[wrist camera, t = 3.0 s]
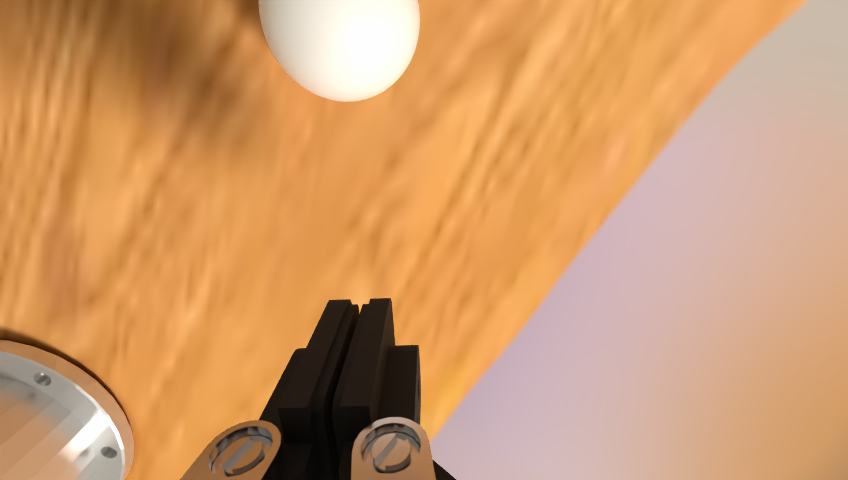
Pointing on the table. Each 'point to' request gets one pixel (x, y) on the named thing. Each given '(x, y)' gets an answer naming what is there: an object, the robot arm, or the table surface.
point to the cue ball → (342, 43)
